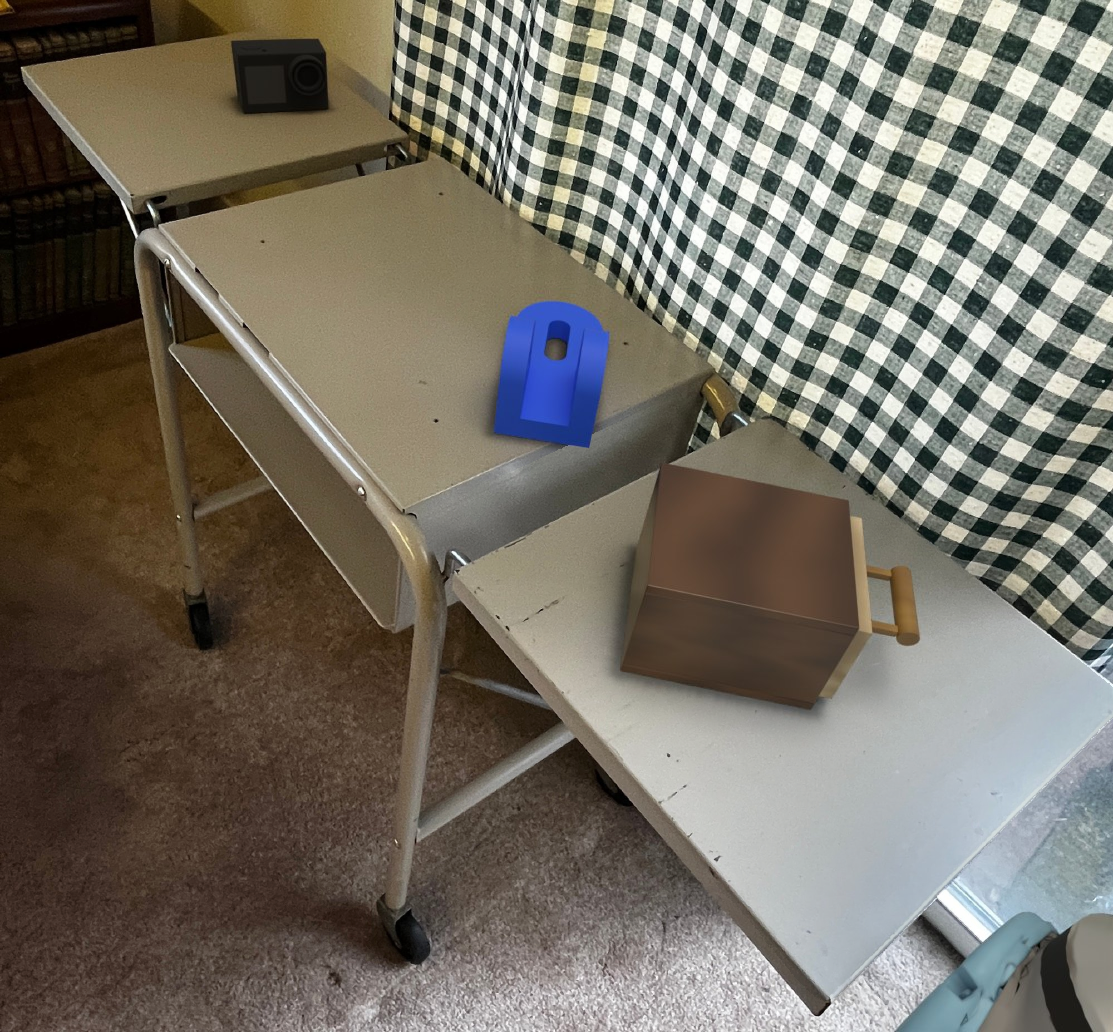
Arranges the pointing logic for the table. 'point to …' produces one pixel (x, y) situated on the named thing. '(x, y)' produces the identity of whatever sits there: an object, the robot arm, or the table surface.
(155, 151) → the table surface
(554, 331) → the bracket
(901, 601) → the drawer
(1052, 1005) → the robot arm
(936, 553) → the table surface
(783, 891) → the table surface
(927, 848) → the table surface
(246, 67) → the digital camera
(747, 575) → the cabinet
